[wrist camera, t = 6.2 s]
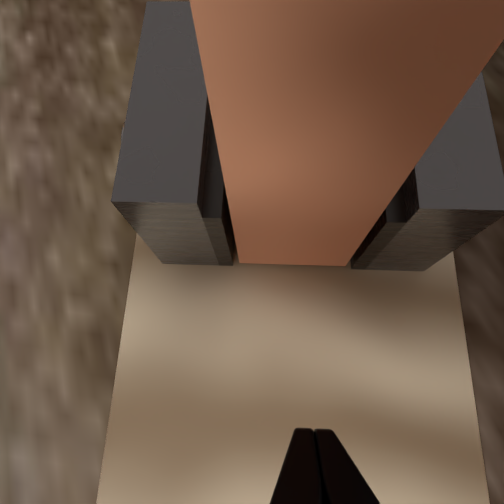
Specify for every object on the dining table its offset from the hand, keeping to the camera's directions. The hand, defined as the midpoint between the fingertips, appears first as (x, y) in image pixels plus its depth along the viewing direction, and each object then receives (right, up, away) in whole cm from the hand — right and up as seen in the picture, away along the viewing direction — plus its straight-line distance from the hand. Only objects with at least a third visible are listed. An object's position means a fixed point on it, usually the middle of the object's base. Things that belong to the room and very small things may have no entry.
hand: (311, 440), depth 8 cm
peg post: (+1, +7, +9) cm, 11 cm away
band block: (+1, +7, +9) cm, 12 cm away
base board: (0, +2, +8) cm, 9 cm away
